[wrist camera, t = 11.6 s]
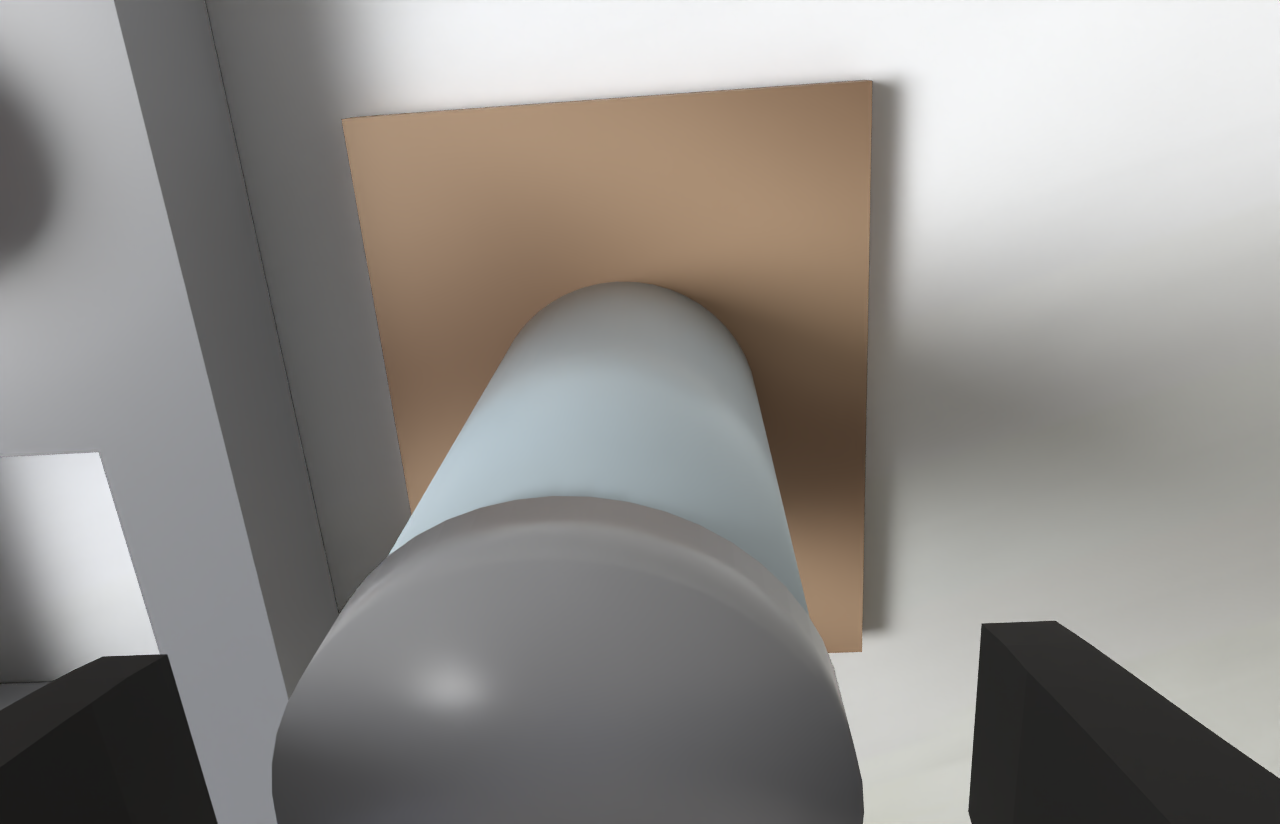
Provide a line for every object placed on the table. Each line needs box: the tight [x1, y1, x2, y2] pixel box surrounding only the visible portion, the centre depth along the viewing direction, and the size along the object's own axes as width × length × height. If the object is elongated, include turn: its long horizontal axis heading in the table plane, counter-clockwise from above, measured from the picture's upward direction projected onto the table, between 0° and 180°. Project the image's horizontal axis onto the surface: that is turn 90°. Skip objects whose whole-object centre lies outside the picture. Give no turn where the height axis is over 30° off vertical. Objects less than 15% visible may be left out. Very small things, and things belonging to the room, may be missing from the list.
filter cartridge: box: [272, 282, 864, 824], centre depth 11 cm, size 5×5×9 cm
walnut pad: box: [341, 80, 872, 653], centre depth 16 cm, size 10×8×1 cm
